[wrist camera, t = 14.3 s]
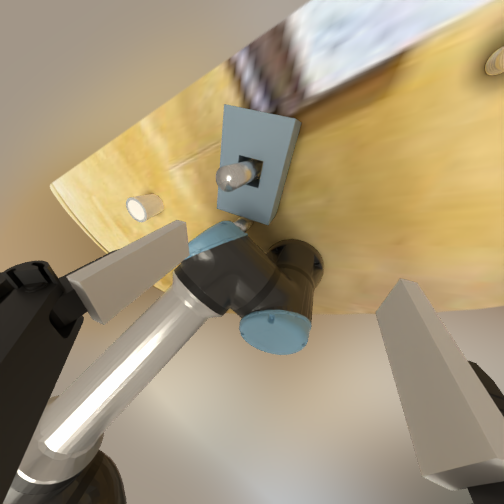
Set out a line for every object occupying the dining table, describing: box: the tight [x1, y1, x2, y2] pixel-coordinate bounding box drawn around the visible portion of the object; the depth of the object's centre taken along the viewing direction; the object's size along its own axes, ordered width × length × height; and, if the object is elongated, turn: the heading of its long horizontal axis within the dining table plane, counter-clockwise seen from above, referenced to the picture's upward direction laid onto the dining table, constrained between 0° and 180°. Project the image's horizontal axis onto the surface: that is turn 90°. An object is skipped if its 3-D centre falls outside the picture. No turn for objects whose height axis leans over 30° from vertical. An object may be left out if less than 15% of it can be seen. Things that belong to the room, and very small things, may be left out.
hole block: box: [217, 104, 301, 225], centre depth 36 cm, size 18×12×7 cm, turn 169°
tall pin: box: [216, 159, 264, 192], centre depth 32 cm, size 4×4×16 cm
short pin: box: [234, 217, 253, 233], centre depth 44 cm, size 4×4×6 cm
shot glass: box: [126, 194, 164, 222], centre depth 51 cm, size 7×7×7 cm
